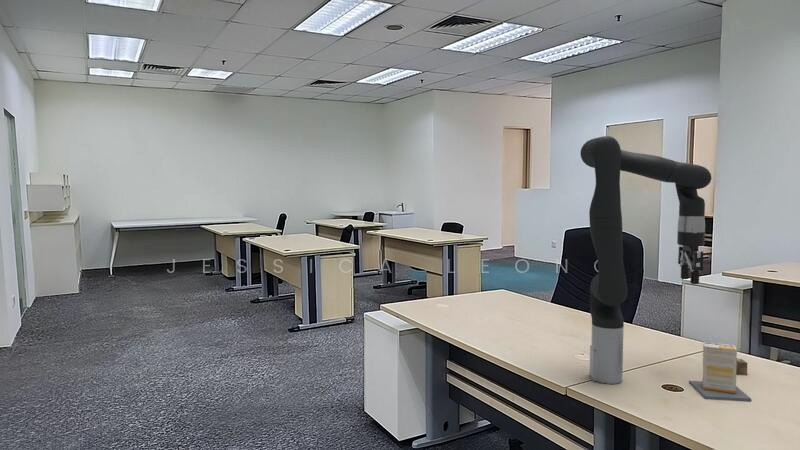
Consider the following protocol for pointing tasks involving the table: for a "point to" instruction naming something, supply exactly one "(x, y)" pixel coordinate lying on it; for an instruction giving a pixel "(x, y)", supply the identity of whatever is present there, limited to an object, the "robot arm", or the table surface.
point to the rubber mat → (719, 393)
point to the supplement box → (719, 367)
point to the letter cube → (741, 367)
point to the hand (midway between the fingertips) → (689, 281)
